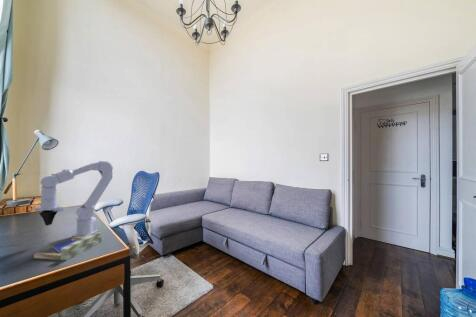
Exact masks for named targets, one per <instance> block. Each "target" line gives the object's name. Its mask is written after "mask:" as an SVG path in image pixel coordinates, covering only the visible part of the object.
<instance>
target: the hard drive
mask: <svg viewBox="0 0 476 317" xmlns="http://www.w3.org/2000/svg"><path fill="white" fill-rule="evenodd" d="M74 242H76V241H74V240H73V241H71V240H70V241H69V240H68V241H66V242H63V243H59V244H55V245H53V246H52V247H53V249H54V250H56V251H57V252H58V254H61V248H63V247H65V246H67V245H70V244H72V243H74Z"/></svg>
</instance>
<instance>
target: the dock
mask: <svg viewBox="0 0 476 317" xmlns="http://www.w3.org/2000/svg"><path fill="white" fill-rule="evenodd" d="M73 240H74V241H76V242H74V243H72V244H70V245H67V246H65V247H63V248H61V253H55V252H53V253H52V252H39V251H38V252H36V253H34V254H33V258H34V259H43V260H60V261H69V260H70V259H72V258H74V257H76V256H78V255H79V254H81V253H83V252H86V251H87V250H88V249H90V248H92V247H94V246H96V245H98V244H100V243H101V242H102V231H97V232H95V233H93V234H91V235H89V236H86V237H72V236H71V240H70V241H73Z"/></svg>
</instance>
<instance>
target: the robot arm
mask: <svg viewBox="0 0 476 317" xmlns="http://www.w3.org/2000/svg"><path fill="white" fill-rule="evenodd" d="M113 169H114V168H113V165H112V163H110V162H109V161H104V160H100V161H99V160H98V161H95V162H93V163H92V162H91V163H89V164H86V165H83V166H80V167H78V168H75V169H72V170H71V169H65V168H64V169H62V171H59V172H55V173H51V174H50V175H46V176H44V177H43V178H41V180H40V184H41V187H40V188H41V191H40V196H41V197H40V206H39V205H38V206H35V207H33V210H34V212H38V211H39V216H40V217H41V218H42V219H43V220H42V221H43V223H44V226H51V225H52V224H53V222H54V219H55V216H56V215H57V214H58V213H61V212H64V207H63V206H58V205H57V185H58V184H59V185H60V184H62V183H65V182H67V181H70V180H73V179H75V177H76V176H77V175H81V174H84V173H86V172H89V171H98V172H99V174H100V177H101V178H100V180H99V181H98V183H97V184H96V186H95V187H94V189H93V190H92V192H91V194H90V195H89V197H88V198H87V200H86V201H84V203H83V204H82V205H81V206H80V207H78V208H77V210H76V212H75V213H76V216H78V217H77V218H76V233H75V234H73V235H72V236H71V238H72V237H87V236H89V235H91V234H93V233H95V232H99V230H98V219H97V218H96V217H94V216H93V215H94V211H95V210H96V204H97V203H98V201H99V200H100V199H101V197H102V195H103V194H104V192H105V190H106V189H107V187H108V186H109V184H110V182H111V181H112V179H113ZM40 211H41V212H40Z"/></svg>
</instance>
